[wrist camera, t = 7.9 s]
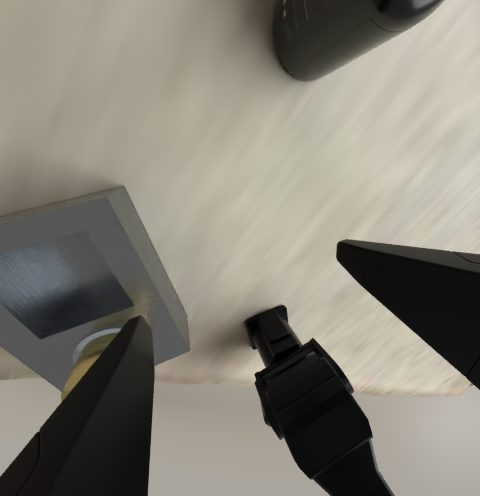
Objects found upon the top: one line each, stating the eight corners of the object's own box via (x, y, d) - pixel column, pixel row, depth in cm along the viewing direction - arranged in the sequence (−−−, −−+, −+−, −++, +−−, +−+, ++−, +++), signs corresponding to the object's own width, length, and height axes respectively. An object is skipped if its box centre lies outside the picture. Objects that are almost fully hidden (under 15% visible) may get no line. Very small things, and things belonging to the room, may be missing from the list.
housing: (187, 315, 24) (190, 352, 19) (92, 351, 22) (72, 402, 17) (124, 185, 16) (105, 197, 11) (-32, 223, 14) (-129, 255, 9)
